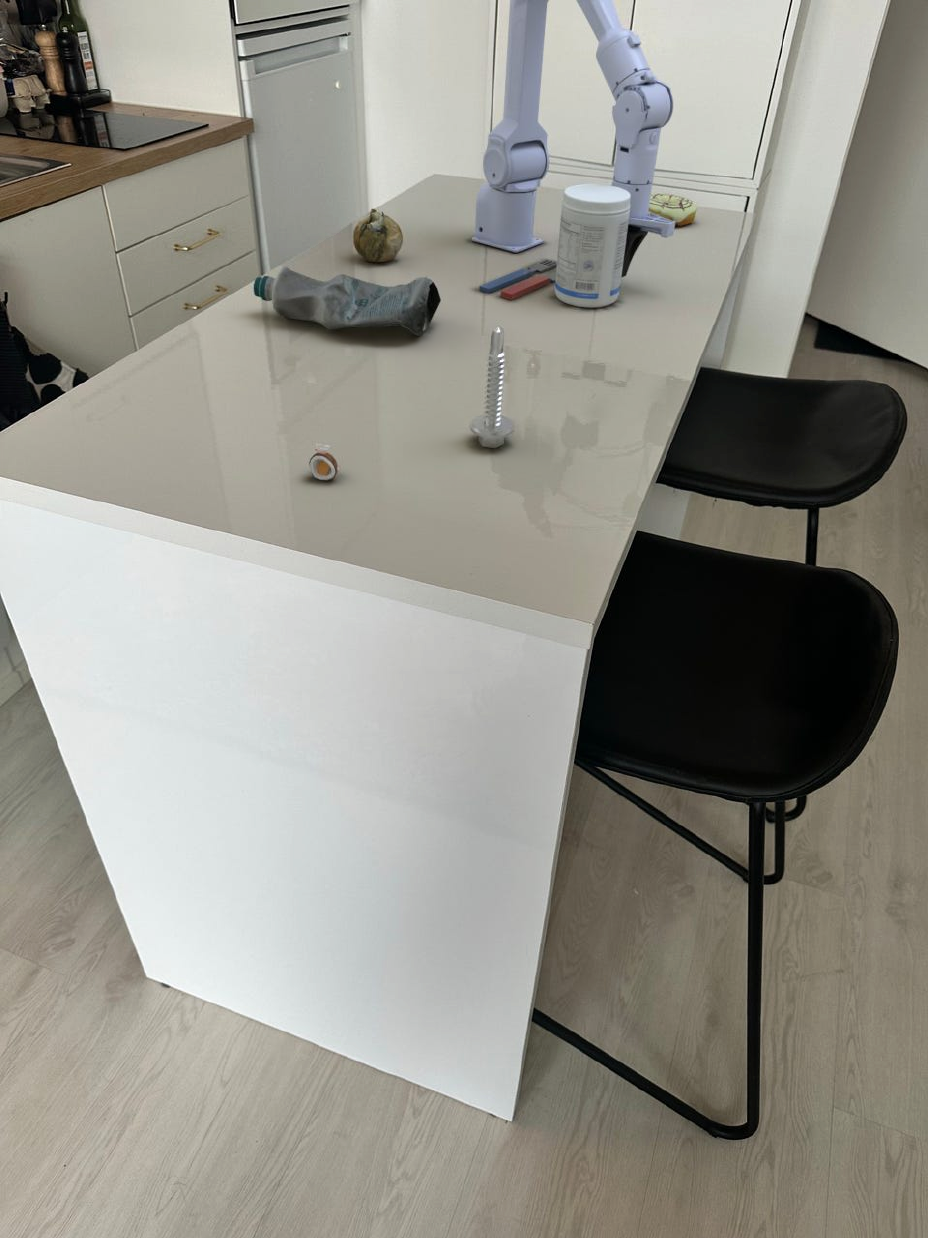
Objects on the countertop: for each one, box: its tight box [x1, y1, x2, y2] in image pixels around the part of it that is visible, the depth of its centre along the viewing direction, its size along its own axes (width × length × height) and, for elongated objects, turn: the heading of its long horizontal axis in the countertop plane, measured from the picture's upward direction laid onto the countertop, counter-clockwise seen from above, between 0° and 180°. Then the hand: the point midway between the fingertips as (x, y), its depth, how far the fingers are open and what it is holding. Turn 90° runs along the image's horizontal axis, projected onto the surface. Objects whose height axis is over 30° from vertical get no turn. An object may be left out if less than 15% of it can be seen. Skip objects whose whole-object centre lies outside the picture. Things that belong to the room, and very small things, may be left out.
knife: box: [500, 271, 556, 301], centre depth 141 cm, size 20×2×1 cm, turn 142°
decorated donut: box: [648, 193, 698, 227], centre depth 169 cm, size 10×11×4 cm
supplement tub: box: [554, 183, 631, 309], centre depth 132 cm, size 10×10×15 cm
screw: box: [469, 325, 516, 449], centre depth 96 cm, size 13×5×5 cm
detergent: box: [253, 266, 442, 337], centre depth 123 cm, size 13×7×25 cm
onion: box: [352, 208, 404, 263], centre depth 144 cm, size 8×8×8 cm
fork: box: [478, 258, 557, 294], centre depth 142 cm, size 18×2×1 cm, turn 142°
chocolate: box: [308, 441, 339, 481], centre depth 92 cm, size 3×2×4 cm
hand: (619, 275), depth 140 cm, fingers closed
